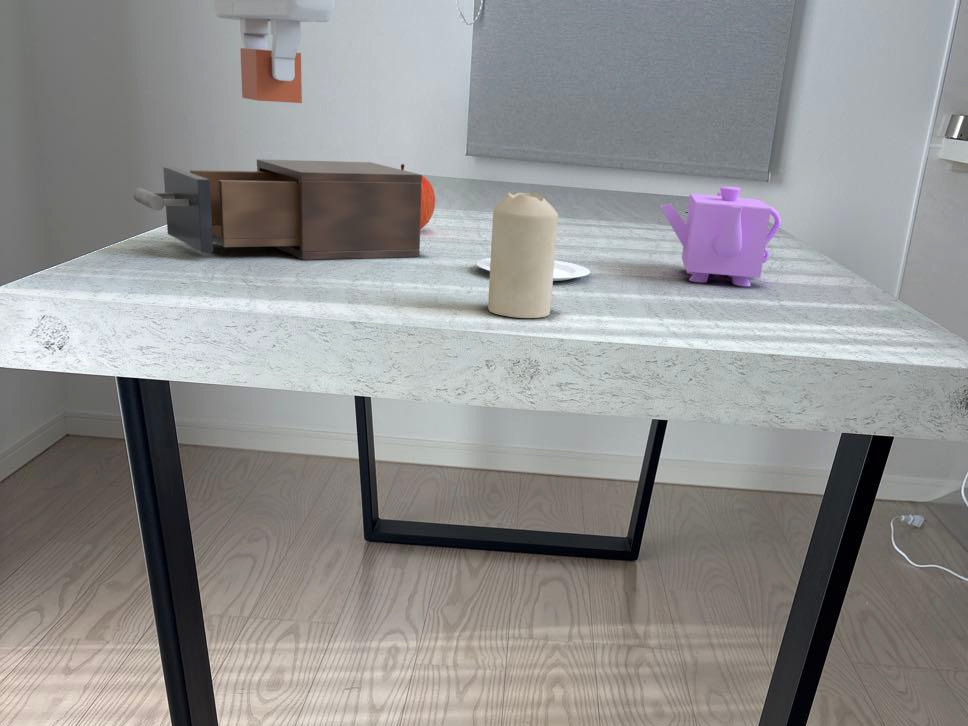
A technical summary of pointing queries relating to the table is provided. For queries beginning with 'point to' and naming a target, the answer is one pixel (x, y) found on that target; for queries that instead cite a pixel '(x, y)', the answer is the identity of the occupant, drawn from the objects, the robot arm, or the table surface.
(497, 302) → the candle
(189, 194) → the drawer
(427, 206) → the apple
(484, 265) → the white saucer
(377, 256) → the cabinet
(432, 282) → the table surface
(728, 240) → the teapot
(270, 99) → the block
